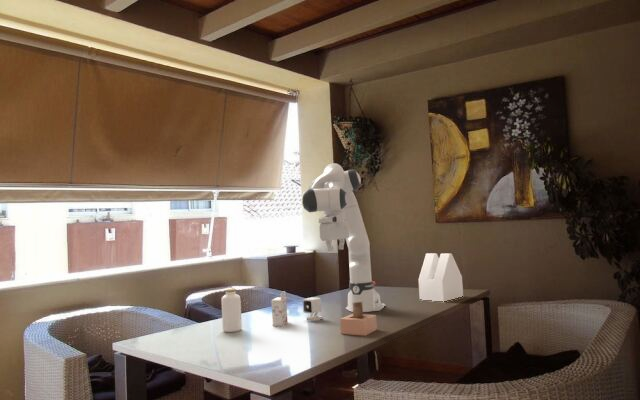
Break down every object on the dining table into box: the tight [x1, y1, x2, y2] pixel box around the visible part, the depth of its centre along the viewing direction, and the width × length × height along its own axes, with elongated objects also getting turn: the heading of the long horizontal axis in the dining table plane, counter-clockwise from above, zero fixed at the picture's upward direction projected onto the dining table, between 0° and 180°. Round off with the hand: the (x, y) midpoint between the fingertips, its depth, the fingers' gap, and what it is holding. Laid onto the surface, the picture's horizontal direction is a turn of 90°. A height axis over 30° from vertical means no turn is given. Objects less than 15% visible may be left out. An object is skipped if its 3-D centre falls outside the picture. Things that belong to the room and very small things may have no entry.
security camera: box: [302, 296, 323, 322], centre depth 231 cm, size 6×7×10 cm
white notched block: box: [418, 252, 464, 303], centre depth 271 cm, size 19×15×25 cm
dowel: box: [352, 301, 364, 319], centre depth 201 cm, size 4×4×12 cm
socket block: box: [339, 313, 378, 337], centre depth 201 cm, size 11×11×6 cm
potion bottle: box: [221, 288, 243, 333], centre depth 217 cm, size 8×8×18 cm
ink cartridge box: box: [270, 290, 288, 327], centre depth 226 cm, size 9×5×15 cm, turn 168°
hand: (335, 250), depth 214 cm, fingers open, 8 cm apart
